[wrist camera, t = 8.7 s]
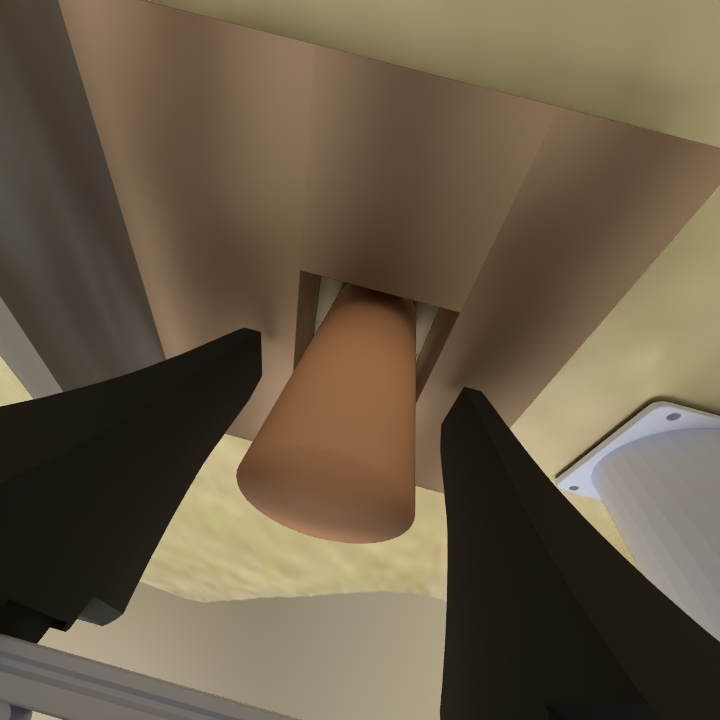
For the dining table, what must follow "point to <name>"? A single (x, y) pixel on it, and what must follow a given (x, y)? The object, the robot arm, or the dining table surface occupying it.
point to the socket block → (304, 206)
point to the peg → (343, 427)
